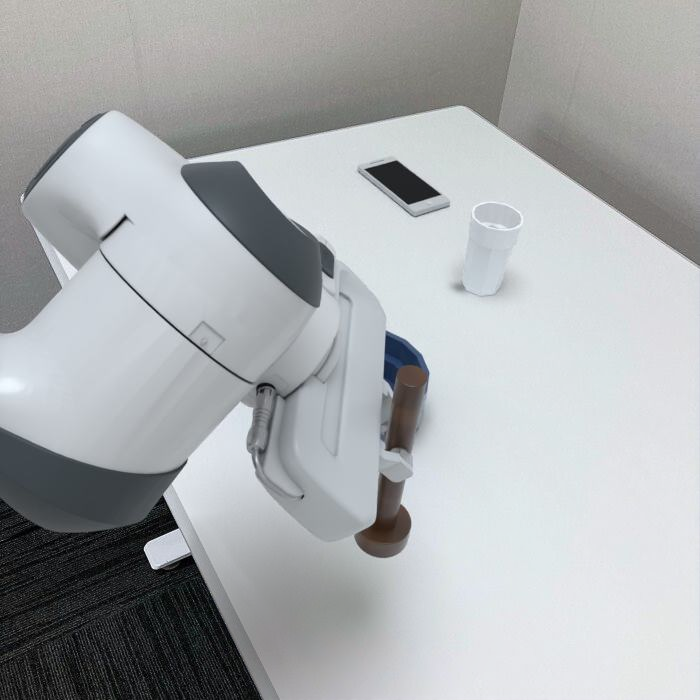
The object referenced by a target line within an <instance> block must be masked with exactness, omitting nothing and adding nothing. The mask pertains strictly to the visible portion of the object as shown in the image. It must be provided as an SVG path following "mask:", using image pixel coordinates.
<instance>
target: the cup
mask: <svg viewBox="0 0 700 700" xmlns="http://www.w3.org/2000/svg"><path fill="white" fill-rule="evenodd" d="M524 221H525V220H524V216H523V213H521V212H520V211H519V210H518V209H517V208H515V207H514V206H512V205H510V204H507V203H503V202H500V201H484V202H479V203H478V204H475V205H473V206H472V209H471V213H470V220H469V224H468V230H467V231H468V237H467V238H468V239H467V244H466V252H465V259H464V263H463V264H464V265H463V270H462V277H461V283H462V285H463V287H464V289H465V290H466V292H469V293H472V294H474V295H476V296H478V297H488V296H494V295H496V293H497V292H498V291H499V289H500V288H501V284H502V281H503V279H504V275H505V274H506V273H505V272H506V270H507V267H508V263H509V261H510V258H511V255H512V252H513V249H514V246H515V245H516V244H517V241H518V238H519V236H520V233H521V230H522V227H523V223H524Z"/></svg>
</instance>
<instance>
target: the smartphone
mask: <svg viewBox="0 0 700 700" xmlns="http://www.w3.org/2000/svg"><path fill="white" fill-rule="evenodd" d="M357 171H358V172H359V173H360V174H361V175H363V176H364V177H365V178H366V179H367V180H368V181H370V182H371V183H372V184H374V185H375V186H376V187H377V188H378V189H380V190H381V191H382V192H383V193H385V194H386V195H387V196H388V197H389V198H390V199H392V200H393V201H394V202H395V203H397V204H398V205H400V207H402V208H403V209H404V210H405V211H406V212H408V213H409V214H410V215H411V216H414V217H418V216H421V215H424V214H427V213H430V212H433V211H436V210H440V209H443V208H445V207H446V208H447V207H449V206H450V204H451V200H450V198H449V197H447V196H446V195H444V193H442V192H440V191H439V190H438V189H437V188H435V187H434V186H433V185H431V183H429V182H427V181H426V180H425V179H424V178H422V177H421V176H420V175H418V174H417V173H416V172H414V171H413V170H412V169H410V168H409V167H408V166H407V165H405V164H404V163H403V162H402V161H400V160H399V159H398V158H396V157H395V156H393V155H390V156H386V157H383V158H380V159H376V160H371V161H367V162H365V163H360V164H358V165H357Z"/></svg>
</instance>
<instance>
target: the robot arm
mask: <svg viewBox="0 0 700 700" xmlns="http://www.w3.org/2000/svg"><path fill="white" fill-rule="evenodd" d="M21 211H22V214H23V215H24V217H25V218H26V219H27V220H28V222H29V223H30V224H31V225H32V226H33V227H34V228H35V230H37V231H38V232H39V233H40V235H41V236H42V237H43V238H44V239H45V240H46V241H47V242H48V243H49V244H50V245H51V247H53V248H54V249H55V250H56V251H57V252H58V253H59V254H60V255H61V256H62V257H63V258H64V259H65V260H66V261H67V262H68V263H69V264H70V265H71V266H72V267H73V268H74V269H75V270H76V271H77V272H76V273H75V274H73V276H72V277H70V279H69V280H68V281H67V282H66V283H65V284H64V286H63V287H62V288H61V289H59V291H58V292H57V293H56V295H54V296H53V297H52V299H51V300H50V301H49V302H48V303H47V304H46V305H45V306H44V307H43V309H42V310H40V312H39V313H38V314H37V315H36V316H35V317H34V318H33V319H32V320H31V321H30V322H29V323H28V324H27V325H26V326H25V327H22V329H19V330H17V331H13V332H10V333H9V332H8V333H5V332H0V499H1V500H2V501H4V502H5V504H7V505H8V506H9V507H10V508H12V509H13V510H14V511H15V512H16V513H18V514H19V515H20V516H22V517H23V518H25V519H26V520H28V521H30V522H31V523H33V524H35V525H36V526H39V527H41V528H43V529H46V530H48V531H51V532H55V533H92V532H99V531H100V532H101V531H106V530H112V529H117V528H123V527H127V526H131V525H134V524H137V523H140V522H141V521H143V520H145V518H146V517H147V516H148V515H149V513H151V511H152V509H153V508H154V507H155V506H156V504H158V502H159V501H160V499H161V498H162V496H163V495H164V494H165V493H166V491H167V490H168V489H169V488H170V486H171V485H172V484H173V483H174V481H175V479H177V477H178V475H180V473H181V472H182V471H183V469H184V468H185V467H186V465H187V464H188V460H189V458H190V457H191V456H192V455H193V454H194V453H195V451H196V450H197V449H198V448H199V447H200V446H201V445H202V444H203V443H204V442H205V440H207V438H209V436H210V435H211V434H212V433H213V432H214V431H215V430H216V429H217V428H218V426H220V424H221V423H222V422H223V421H224V420H225V419H226V418H227V417H228V415H229V414H230V413H231V412H233V410H234V409H235V408H236V407H237V406H238V405H239V404H240V403H241V404H242V405H244V406H245V407H248V408H252V421H251V425H250V428H249V429H248V431H247V434H246V435H247V436H246V441H245V442H246V443H245V445H246V451H247V452H248V453H249V454H251V462H252V465H253V467H254V470H255V471H254V475H255V477H256V479H257V480H258V481H259V483H260V484H261V485H262V487H263V488H264V489H265V490H266V492H267V493H268V494H269V495H270V497H271V498H272V499H273V500H274V501H275V502H276V503H277V504H278V505H279V506H280V507H281V508H282V509H283V510H284V511H285V512H287V513H288V514H289V515H290V516H291V517H292V518H293V519H294V520H295V521H297V523H298V524H300V525H301V527H303V528H304V529H305V530H307V532H309V533H310V534H312V535H313V536H314V537H315V538H317V539H318V540H320V541H322V542H324V543H333V542H337V541H341V540H343V539H346V538H349V537H352V536H354V534H356V533H358V532H360V531H362V530H364V529H366V528H368V527H370V526H371V525H372V524H373V523H374V522H375V520H376V514H377V493H378V476H379V472H381V473H382V474H383V475H385V476H386V477H387V478H388V479H390V480H391V481H393V482H401V481H403V480H405V479H406V480H407V479H409V478H412V477H413V475H414V468H413V467H414V466H413V461H414V459H413V458H414V457H413V455H412V453H411V454H410V453H409V454H408V453H407V451H406V450H405V449H404V448H403V447H402V446H397V447H395V448H393V449H392V450H391V451H390V452H389V451H385V450H384V449H385V443H384V442H383V441H382V440H381V439H380V433H381V434H382V435H383V436H385V437H386V432H387V426H388V420H389V415H390V409H391V403H392V398H393V391H392V389H391V387H390V385H389V384H388V383H387V382H386V381H385V380H384V379H383V373H384V353H385V333H386V331H387V315H386V313H385V310H384V308H383V306H382V303H381V302H380V300H379V299H378V297H377V296H376V295H375V294H374V293H373V292H372V291H371V289H370V288H369V287H368V285H366V283H365V282H364V281H363V280H362V279H360V277H359V276H358V275H357V274H356V273H355V272H354V271H353V270H352V269H351V268H350V267H349V266H348V265H347V264H345V262H343V261H341V260H339V259H337V253H336V250H335V248H334V247H333V245H332V244H331V243H330V242H329V241H328V239H326V238H325V237H324V236H323V235H322V234H319V233H315V234H313V233H312V232H310V231H309V230H308V229H307V228H306V227H304V226H302V225H301V224H300V223H298V222H297V221H295V220H294V219H292V218H290V217H289V216H288V215H286V213H284V212H283V211H282V210H281V209H280V208H279V207H278V206H277V205H276V204H275V203H274V202H273V201H272V200H271V199H270V198H269V196H268V195H267V194H266V193H265V192H264V190H263V189H262V187H261V186H260V185H259V184H258V183H257V182H256V180H255V179H254V177H252V175H251V174H250V172H249V171H248V170H247V168H246V167H245V166H244V165H243V163H242V162H240V161H239V160H223V161H222V160H221V161H203V162H202V161H201V162H194V163H193V162H192V163H191V162H190V161H188V160H187V159H186V158H185V157H184V156H182V155H181V154H180V153H178V151H176V150H175V149H174V148H172V147H171V146H170V145H169V144H167V143H166V142H164V141H163V140H162V139H160V137H158V136H157V135H155V134H154V133H152V132H151V131H149V130H148V129H147V128H145V127H144V126H142V125H141V124H140V123H138V122H136V121H135V120H134V119H133V118H131V117H129V116H128V115H126V114H125V113H122V112H121V111H119V110H107V111H104V112H102V113H97V114H95V115H94V116H92V117H91V118H89V119H88V120H87V121H85V122H83V123H82V124H81V125H80V127H79V128H78V129H77V130H75V131H74V132H72V133H71V134H70V135H69V136H68V137H67V138H65V140H64V141H63V142H62V143H61V145H59V147H57V148H56V150H55V151H53V152H52V154H51V155H50V156H49V158H48V159H46V161H45V162H44V163H43V164H42V165H41V167H40V168H39V169H38V171H37V172H36V174H35V176H34V177H32V179H31V180H30V181H29V184H28V185H27V186H26V189H25V190H24V193H23V200H22V203H21ZM406 480H405V481H406Z"/></svg>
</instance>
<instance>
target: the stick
mask: <svg viewBox="0 0 700 700" xmlns="http://www.w3.org/2000/svg"><path fill="white" fill-rule="evenodd" d="M427 379H428V378H427V374H426V372H425V371H424V370H423V369H421V368H419V367H417V366H412V365H408V366H404V367H402V368H400V369H399V370H398V372H397V375H396V381H395V387H394V392H393V398H392V403H391V409H390V415H389V420H388V426H387V432H386V437H385V449H384V450H385V451H389V452H390V451H391V450H392V449H393V448H395V447H397V446H402V447H403V448H404V449H405V450H406V451H407V453H408V454H409V453H410V454H411V455H412V452H413V447H414V443H415V439H416V434H417V430H418V428H417V425H418V421H419V416H420V411H421V407H422V402H423V398H424V393H425V388H426V384H427ZM406 480H407V479H405V480H403V481H401V482H393V481H391V480H390V479H388V478H387V477H386V476H385V475H383V474H382V473H381V472H379V473H378V493H377V514H376V520H375V522H374V523H373V524H372V525H371V526H370V527H368V528H366V529H364V530H362V531H360V532H358V533H356V534H354V535H353V538H354V540H355V543H356V545H357V546H358V548H359V549H360V550H361V551H362V552H364V553H365V554H367V555H369V556H370V557H373V558H376V559H377V558H378V559H388V558H393V557H395V556H398V555H399V554H400V553H401V552H402V551H404V549H406V547H407V545H408V541H409V537H410V534H411V530H412V517H411V515H410V512H409V511H408V510H407V508H406V507H405V506H404V505H403V504H402V503H401V502H402V498H403V495H404V494H403V493H404V489H405V484H406Z"/></svg>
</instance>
